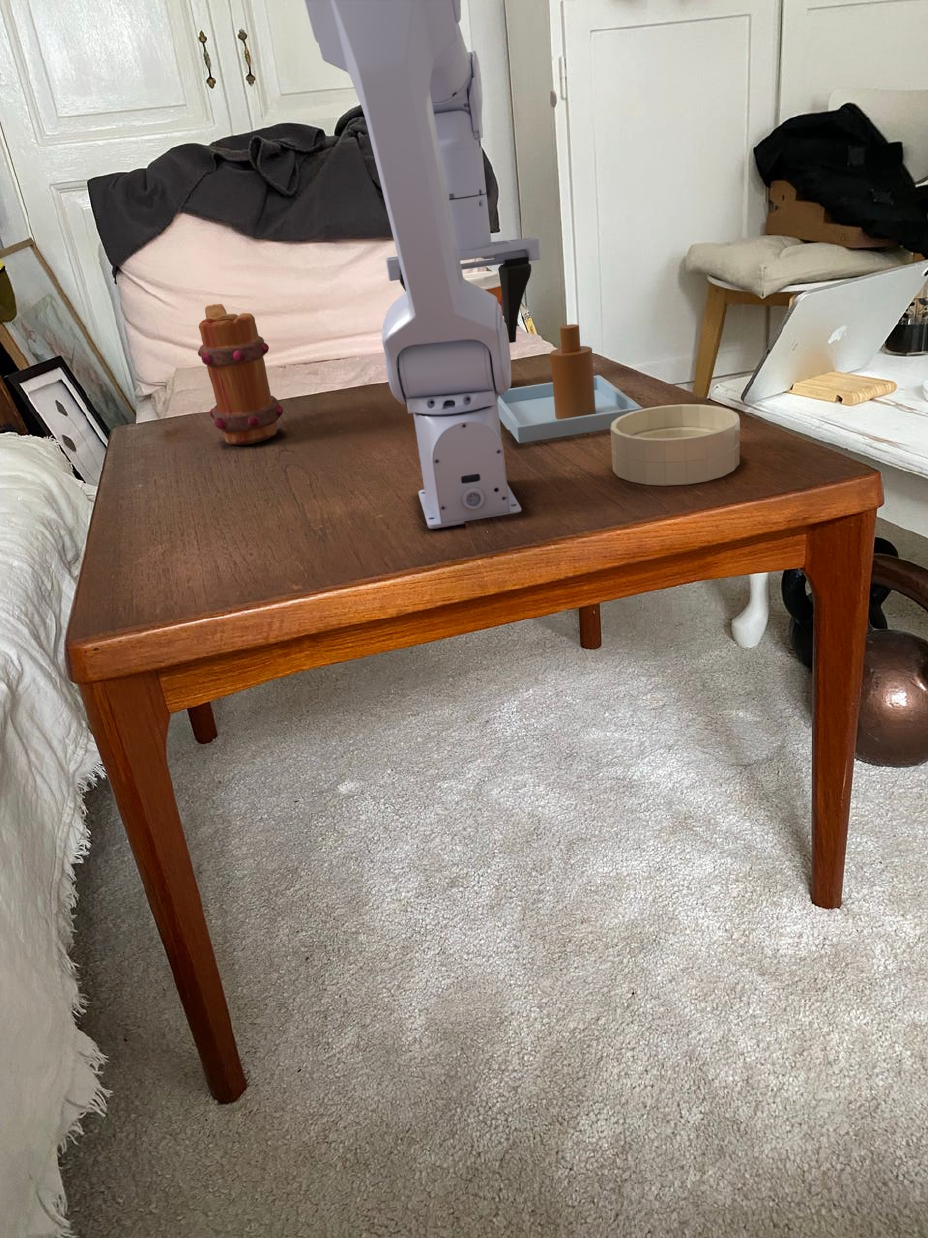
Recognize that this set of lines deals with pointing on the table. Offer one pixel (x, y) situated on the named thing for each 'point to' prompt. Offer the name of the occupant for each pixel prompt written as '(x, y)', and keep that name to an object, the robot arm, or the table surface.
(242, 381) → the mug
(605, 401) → the tray
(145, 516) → the table surface
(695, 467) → the bowl
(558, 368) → the bottle
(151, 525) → the table surface
